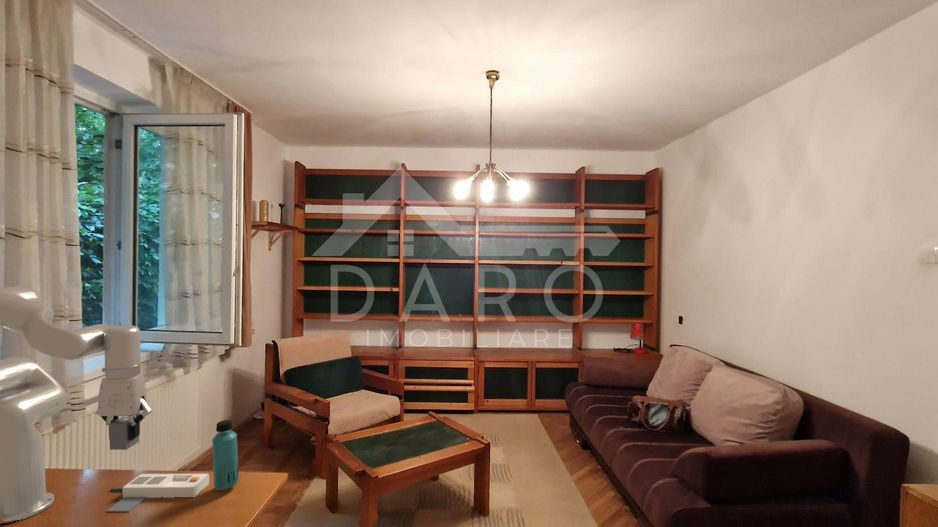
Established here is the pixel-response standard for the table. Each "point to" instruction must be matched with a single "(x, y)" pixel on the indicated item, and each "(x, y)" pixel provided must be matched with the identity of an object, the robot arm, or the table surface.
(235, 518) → the table surface
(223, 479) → the beverage bottle
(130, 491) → the power strip
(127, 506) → the coaster
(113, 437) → the charger
